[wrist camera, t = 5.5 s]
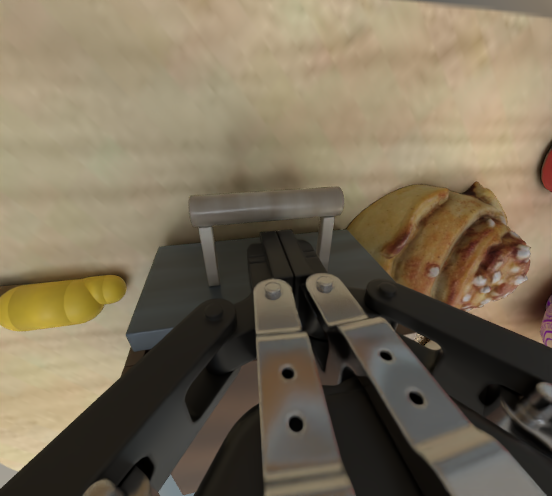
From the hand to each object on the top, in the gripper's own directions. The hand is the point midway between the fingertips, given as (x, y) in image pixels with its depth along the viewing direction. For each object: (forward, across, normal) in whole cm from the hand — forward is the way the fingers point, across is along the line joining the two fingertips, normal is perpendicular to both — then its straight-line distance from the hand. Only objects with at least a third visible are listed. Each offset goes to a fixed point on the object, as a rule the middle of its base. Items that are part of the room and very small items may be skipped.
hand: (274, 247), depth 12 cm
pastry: (+7, -13, +6) cm, 16 cm away
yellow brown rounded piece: (+6, +14, +7) cm, 17 cm away
